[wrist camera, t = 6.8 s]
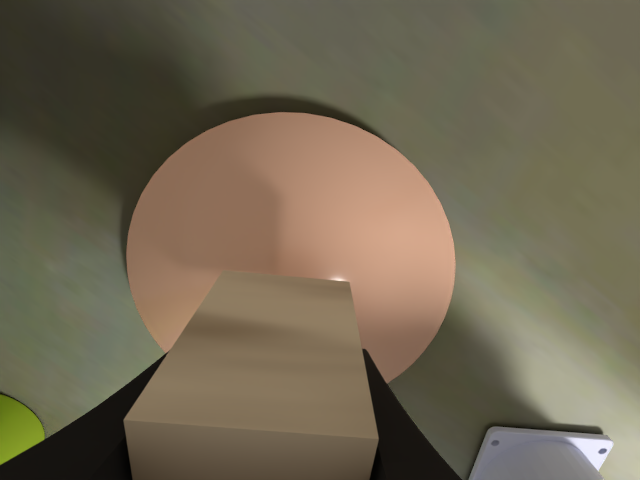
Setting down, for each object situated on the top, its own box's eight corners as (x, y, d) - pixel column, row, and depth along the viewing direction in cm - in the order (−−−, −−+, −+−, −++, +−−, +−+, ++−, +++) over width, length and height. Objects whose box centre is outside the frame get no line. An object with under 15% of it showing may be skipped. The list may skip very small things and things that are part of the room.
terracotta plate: (412, 404, 19) (417, 418, 18) (151, 384, 19) (142, 397, 18) (485, 133, 14) (497, 133, 13) (120, 93, 13) (105, 91, 12)
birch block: (334, 379, 13) (345, 580, 7) (223, 370, 13) (145, 568, 7) (349, 281, 11) (378, 439, 6) (223, 270, 11) (122, 419, 5)
